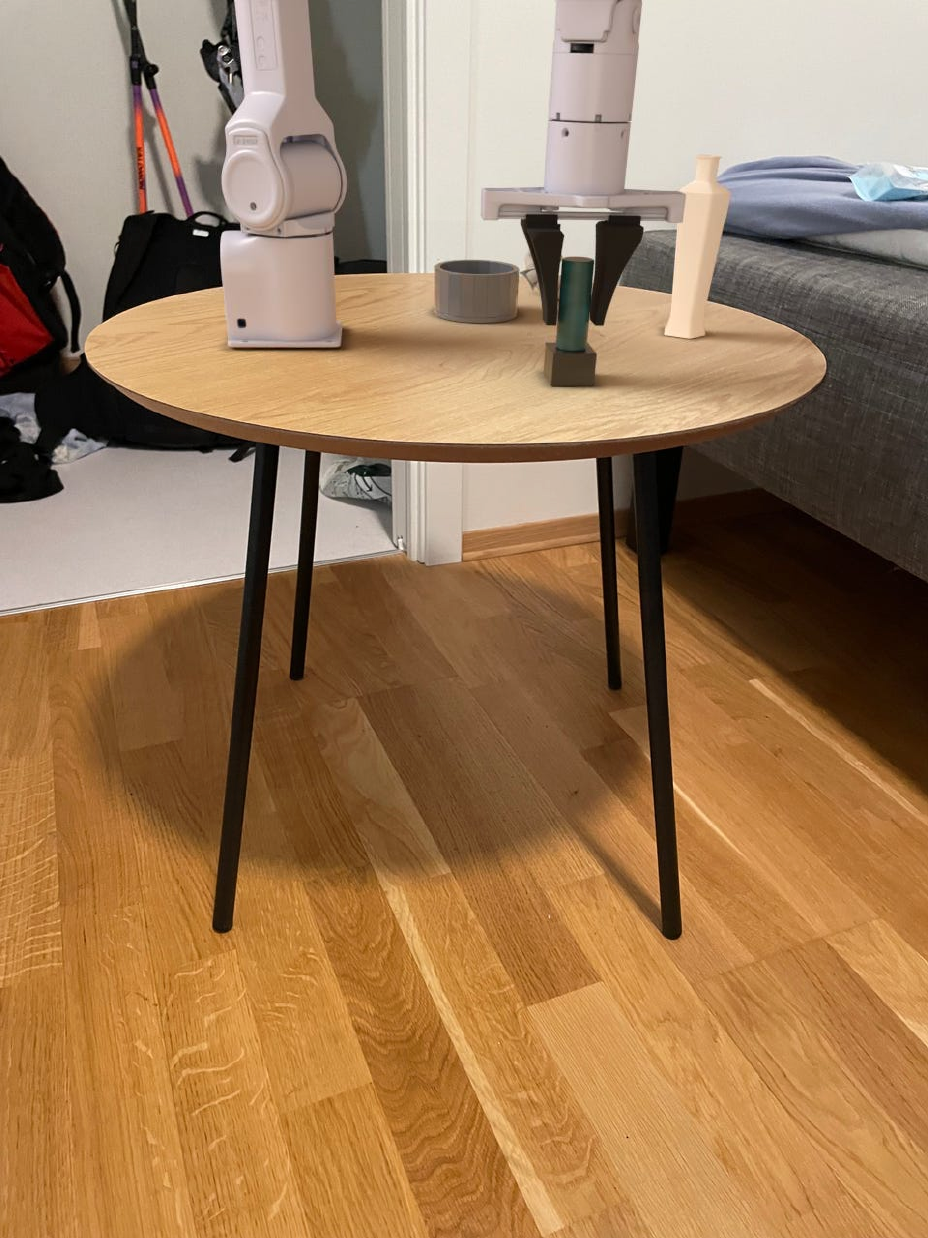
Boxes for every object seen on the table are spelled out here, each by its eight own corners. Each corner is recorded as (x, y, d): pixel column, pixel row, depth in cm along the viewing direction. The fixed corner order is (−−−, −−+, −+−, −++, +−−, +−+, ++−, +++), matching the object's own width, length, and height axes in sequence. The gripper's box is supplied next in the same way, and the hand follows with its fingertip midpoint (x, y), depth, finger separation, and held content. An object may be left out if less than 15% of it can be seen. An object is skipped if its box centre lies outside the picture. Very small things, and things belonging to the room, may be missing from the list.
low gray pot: (437, 322, 89) (437, 274, 87) (431, 304, 96) (432, 259, 94) (522, 323, 90) (524, 275, 87) (510, 304, 97) (512, 259, 94)
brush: (550, 386, 72) (559, 262, 67) (543, 373, 75) (551, 254, 70) (594, 385, 72) (605, 263, 68) (585, 373, 75) (595, 255, 70)
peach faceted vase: (709, 341, 85) (738, 158, 78) (660, 337, 86) (684, 156, 78) (708, 329, 89) (735, 154, 82) (661, 326, 90) (684, 152, 82)
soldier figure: (593, 296, 106) (586, 280, 94) (559, 324, 107) (548, 312, 96) (551, 241, 106) (539, 218, 94) (517, 270, 107) (502, 251, 96)
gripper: (491, 121, 60) (484, 334, 67) (709, 126, 62) (680, 335, 68) (480, 116, 66) (474, 312, 73) (679, 121, 68) (654, 313, 74)
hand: (572, 322), depth 71 cm, fingers open, 3 cm apart
